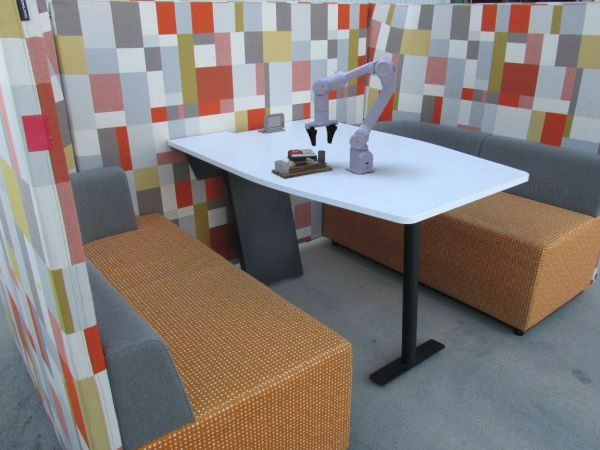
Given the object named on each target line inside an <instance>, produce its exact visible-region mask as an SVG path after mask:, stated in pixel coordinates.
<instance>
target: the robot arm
mask: <svg viewBox="0 0 600 450" xmlns="http://www.w3.org/2000/svg"><path fill="white" fill-rule="evenodd" d="M366 74H367V75H372V76H375V75H376V76H377V77H378V79H379V81H380V84H381V87H382V89H381V90H380V91H379V93H378V95H377V97H376V98H375V100H374V102H373V104H372V106H371V107H370V108H369V110H368V112H367V114H366V115H365V117H364V119H363V120H362V122H361V124H360V126H359V127H358V128H357V130H355V132H354V133H353V134H352V135H351V136H350V138H349V145H350V146H349V166H348V167H347V166H346V167H344V169H345V170H347V171H350V172H351V173H355V174H358V175H361V174H366V173H371V172H372V173H373V172H375V169H373V168H374V154H373V153H372V152H371V151H370V149H369V145H368V144H367V143H368V142H369V140H370V139H369V138H370V134H371V132H372V130H373V128H374V126H375V125H376V123H377V121H378V119H379V118H380V117H381V115H382V113H383V112H384V109H385V108H386V106H387V105H388V102H389V101H390V99H391V98H392V96H393V95H394V93H395V91H396V90H397V68H396V66H395V63H394V61H393V60H392V59H391V58H389V57H385V58H382V59H380V60H379V59H378V60H375V61H374V60H373V61H370V62H367V63H365V64H363V65H360V66H358V67H355V68H354V69H351V70H349V71H346V72H345V71H342V70H340V71H339V70H336V71H334V73H332V74H330V75H328V76H327V75H324V76H323V77H322V78H319V79H317V80H316V81H314V83H313V85H312V91H313V93H314V95H313V96H314V100H313V101H314V102H313V103H314V106H313V108H314V110H313V113H314V117H313V118H314V119H313V120H314V121H310V122H305V123H304V129H305V131H306V133H307V136H308V137H309V140H310V145H311V146H312V147H316V146H317V133H318V129H316V128H322V127H325V130H326V141H327V144H329V145H331V144H332V142H333V139H334V137H335V134H336V132H337V130H338V125H339V120H338V119H330V116H329V115H330V110H329V107H330V104H329V101H330V99H329V92H332V91H335V90H338V89H340V88H342V87H345V86H346V85H347V84H348V81H350V80H353V79H357V78H359V77H361V76H364V75H366Z"/></svg>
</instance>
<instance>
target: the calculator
mask: <svg viewBox="0 0 600 450" xmlns="http://www.w3.org/2000/svg"><path fill="white" fill-rule="evenodd" d="M287 158H288V161H293V162H294V163H296V162H302V161H306V158H310V159H313V160H314V159H317V160H318V155H317V154H316V153H315V152H314V151H313V149H312V148H301V149H298V148H297V149H288V151H287Z"/></svg>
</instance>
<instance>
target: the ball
mask: <svg viewBox="0 0 600 450" xmlns="http://www.w3.org/2000/svg"><path fill="white" fill-rule="evenodd" d="M286 162H287V163H289V164H290V168H293V167H296V165H295V163H294V162H293V161H290V160H288V161H286Z"/></svg>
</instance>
